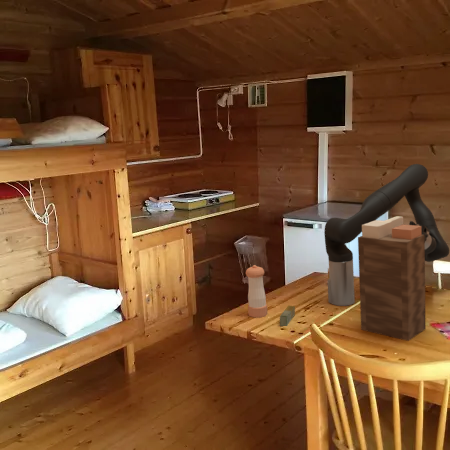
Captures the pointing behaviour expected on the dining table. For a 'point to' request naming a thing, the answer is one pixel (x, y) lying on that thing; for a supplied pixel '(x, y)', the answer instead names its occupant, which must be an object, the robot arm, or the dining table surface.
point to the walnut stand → (392, 285)
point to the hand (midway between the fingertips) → (398, 222)
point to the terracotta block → (406, 232)
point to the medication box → (287, 315)
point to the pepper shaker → (256, 292)
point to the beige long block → (380, 227)
